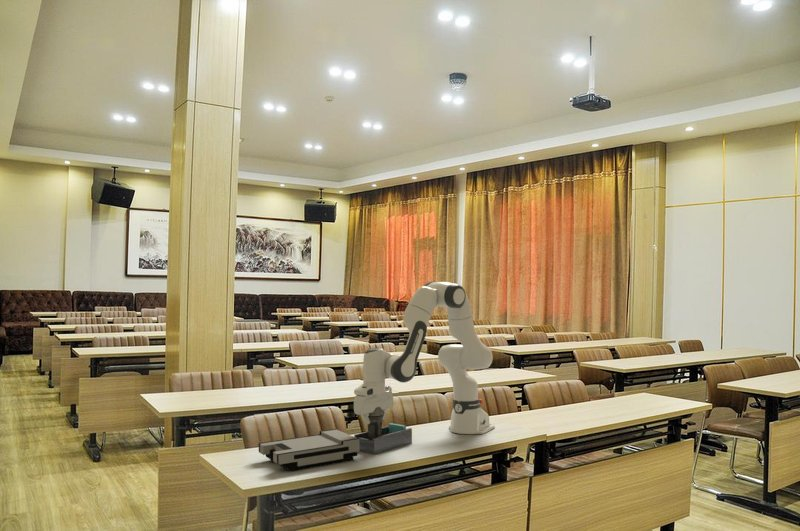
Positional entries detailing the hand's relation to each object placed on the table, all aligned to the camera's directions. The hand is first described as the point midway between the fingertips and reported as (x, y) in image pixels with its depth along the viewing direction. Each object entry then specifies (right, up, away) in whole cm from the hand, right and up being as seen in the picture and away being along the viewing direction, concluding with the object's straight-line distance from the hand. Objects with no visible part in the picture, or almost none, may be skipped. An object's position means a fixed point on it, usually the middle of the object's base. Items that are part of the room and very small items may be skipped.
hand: (374, 422), depth 242 cm
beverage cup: (0, -9, 0) cm, 9 cm away
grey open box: (+4, -11, +4) cm, 12 cm away
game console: (-24, -11, -16) cm, 31 cm away
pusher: (+9, -10, +10) cm, 17 cm away
